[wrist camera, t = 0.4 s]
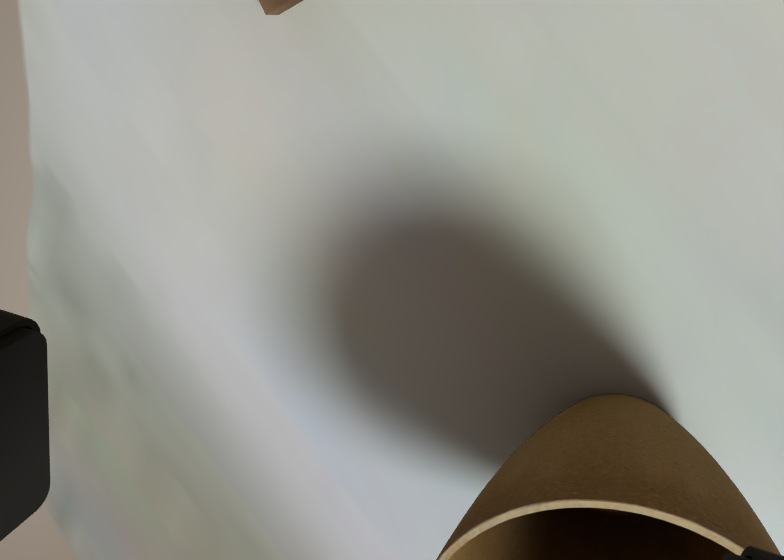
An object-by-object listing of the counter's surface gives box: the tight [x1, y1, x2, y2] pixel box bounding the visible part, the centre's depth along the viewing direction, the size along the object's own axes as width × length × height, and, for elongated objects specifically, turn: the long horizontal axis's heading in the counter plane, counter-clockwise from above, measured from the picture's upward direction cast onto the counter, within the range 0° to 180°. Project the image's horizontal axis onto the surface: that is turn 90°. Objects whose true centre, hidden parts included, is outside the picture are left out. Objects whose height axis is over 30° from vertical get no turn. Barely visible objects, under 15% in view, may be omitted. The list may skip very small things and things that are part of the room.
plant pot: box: [436, 394, 781, 560], centre depth 34 cm, size 15×15×16 cm
